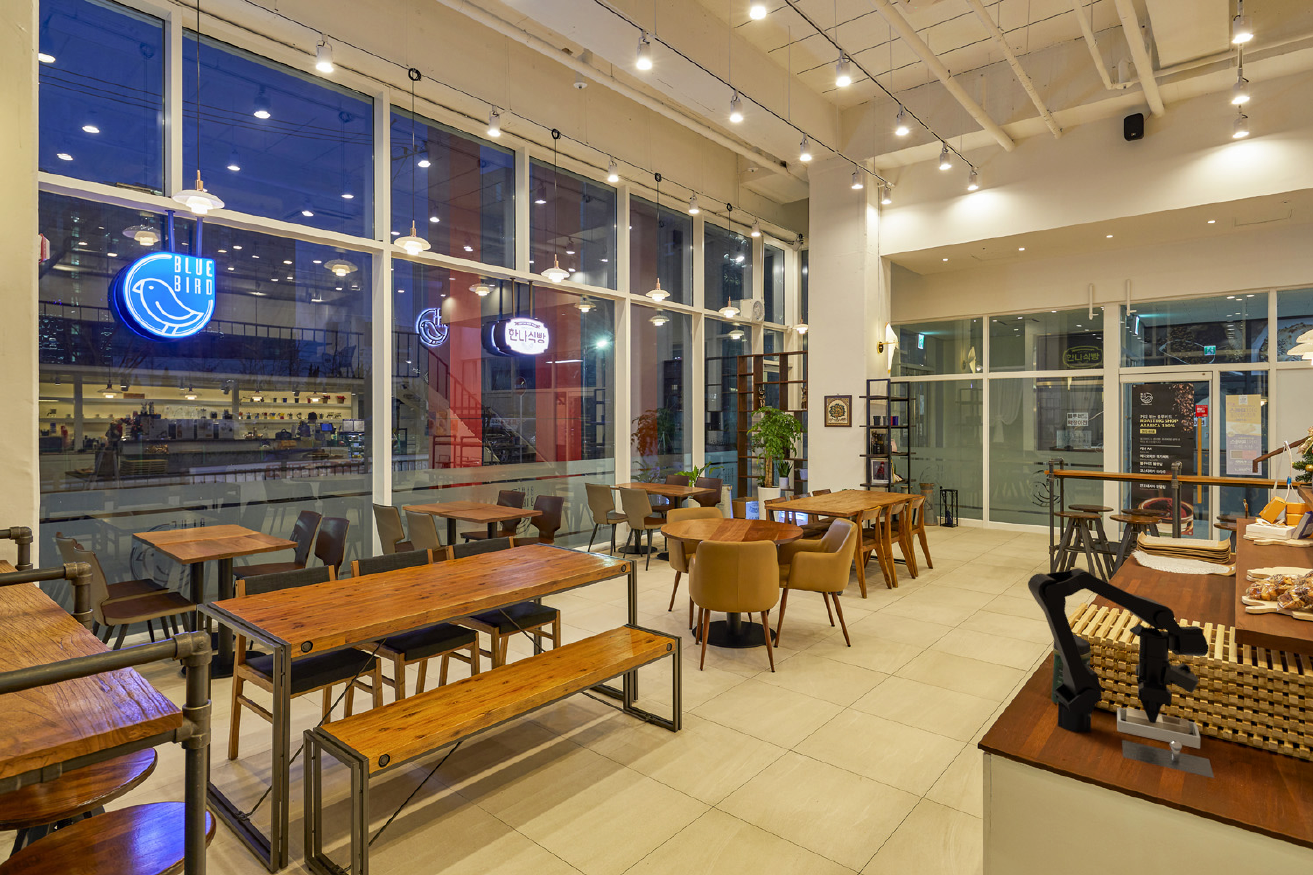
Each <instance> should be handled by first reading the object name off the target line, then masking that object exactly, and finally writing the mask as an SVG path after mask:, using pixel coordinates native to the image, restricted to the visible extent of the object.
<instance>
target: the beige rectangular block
mask: <svg viewBox="0 0 1313 875" xmlns="http://www.w3.org/2000/svg"><path fill="white" fill-rule="evenodd" d="M1126 709H1127V713H1126V720H1125V722H1130V723H1135V724H1140V725H1145V726H1149V727H1154V728H1159V729H1164V730H1169V731H1174V732H1178V733H1183V734H1188V735H1190V734H1191V733H1190V727H1189V723H1188V721H1189V720H1188V719H1187V718H1181V717H1175V716H1171V715H1167V714H1162V713H1159V714H1158V717H1157V720H1156V723H1150V722H1149V719H1148V717H1147V715H1146V712H1145V710H1143V709H1142V710H1140V709H1137V708H1136V709H1135V708H1131V707H1126Z"/></svg>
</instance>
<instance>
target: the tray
mask: <svg viewBox="0 0 1313 875" xmlns="http://www.w3.org/2000/svg"><path fill="white" fill-rule="evenodd" d="M1116 709H1117V711H1116V727H1117V730H1116V731H1117V732H1120V733H1123V734H1124V733H1125V734H1128V735H1133V736H1139V737H1143V738H1147V739H1153V740H1157V741H1163V742H1165V743H1170V742H1171V741H1173V740H1176V741H1178V742H1180V743H1181V745H1182V746H1186V747H1191V748H1196V749H1198V750H1200V749H1201V734H1200V733H1199V728H1198V724H1197V722H1193V721H1189V720H1188V723H1189V727H1190V733H1189V735H1188V734H1183V733H1178V732H1174V731H1169V730H1164V729H1159V728H1154V727H1149V726H1145V725H1140V724H1135V723H1130V722H1126V713H1127V708H1123V707H1118V706H1117V707H1116ZM1124 720H1125V721H1124Z"/></svg>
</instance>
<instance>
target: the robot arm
mask: <svg viewBox="0 0 1313 875" xmlns="http://www.w3.org/2000/svg"><path fill="white" fill-rule="evenodd" d="M1027 586H1028V590H1029V591H1030V593H1031V595H1032V596H1033V598H1034V600H1035V601H1036V603H1037V604H1038V605H1039V607H1040V608H1041V610H1042V611H1043V612H1044V615H1045V618H1046V621H1047V623H1048V627H1049V629H1050V631H1051V635H1052V637H1053V641H1054V640H1055V643H1056V646H1057V648H1058V651H1059V654H1060V657H1061V659H1062V662H1063V673H1062V675H1063V681H1064V682H1063V683H1062V684H1060V685H1059V686H1058V687H1057V688H1056V689H1054V694H1055V697H1056V698H1057V699H1058V700H1059V703H1057V727H1060V728H1061V729H1063V730H1067V731H1068V732H1072V733H1073V732H1074V733H1086V734H1087V733H1089V734H1090V733H1092V715H1093V714H1092V713H1094V709H1095V708H1096V705H1097V703H1098V702H1099V701H1100V700H1101V699H1102V695H1103V694H1102V691H1103V690H1104V687H1102V685H1101V683H1100V680H1099V679H1100V678H1099V675H1098V673H1097V672H1096V671H1094V670H1093V669H1092V668H1091V667H1090V668H1089V667H1088V666H1087V665H1086V664H1085V665H1084V663H1083V660H1082V658H1081V655H1080V652H1079V649H1078V647H1077V644H1076V641H1075V638H1074V636H1073V633H1074V632H1073V631H1072V628H1071V625H1070V621H1069V620H1068V617H1067V613H1066V604H1067V603H1066V597H1070V596H1073V595H1075V594H1076V593H1078V592H1079V591H1081V590H1085V589H1086V590H1088V591H1090V592H1091V593H1094V594H1097V595H1098V596H1101V597H1102V598H1104V599H1106V600H1108V601H1110V602H1112V603H1114V604H1116V605H1118V606H1121V607H1123V608H1124V609H1125V610H1127V611H1128V612H1130V614H1132V615H1133V616H1134V617H1136V618H1138V619H1139V620H1140V621H1143V622H1144V623H1146V624H1148V625H1149V627H1148V626H1147V627H1146V626H1144V625H1142V624H1140V623H1136V625H1134V626H1133V627H1132V628H1130V629H1129V632H1130V633H1132V634H1134V635H1135V636H1136V637H1139V648H1138V649H1139V650H1138V663H1139V665H1137V664H1135V676H1136V683H1137V697H1138V698H1139V701H1140V702H1141V705H1142V707H1143V709H1144V710H1143V711H1145V712H1146V715H1147V717H1148V719H1149V722H1150V723H1156V720H1157V717H1158V714H1160V712H1161V709H1162V706H1164V705H1172V703H1173V702H1172V700H1173V696H1172V691H1171V690H1170V688H1168V686H1171V684H1173V685H1175V686H1177V687H1179V688H1181V689H1183V690H1184V691H1186V692H1187V693H1190V694H1193V693H1194V691H1195V689H1196V687H1197V686H1198V684H1199V678H1198V676H1197V675H1196V674H1195V673H1192V671H1191V666H1190V665H1188V664H1186V663H1183V662H1182V663H1181V664H1178V665H1173V664H1171V663H1170V658H1169V651H1171V652H1172V653H1173V654H1174V655H1176V656H1188V657H1189V656H1191V657H1192V656H1193V657H1205V656H1206V655H1207V654H1208V652H1209V643H1208V642H1207V638H1206V636H1205V635H1204V630H1203V628H1201V627H1200V626H1197V625H1195V626H1194V625H1191V626H1181V625H1179V623H1178V622H1177V621H1176V619H1175V614H1174V610H1173V609H1172V608H1169V607H1168V606H1166V605H1164V604H1162V603H1160V602H1158V601H1156V600H1154V599H1151V598H1148V597H1145V596H1142V595H1138V594H1134V593H1130V592H1128V591H1125V590H1123V589H1121V588H1120V587H1117V586H1115V585H1113V584H1112V583H1109V582H1107V581H1105V580H1103V579H1100V578H1099V577H1097V576H1095V575H1093V574H1092V573H1090V572H1088V571H1087V570H1085V569H1083V568H1079V567H1076V568H1072V569H1069V570H1063V571H1062V570H1061V571H1055V572H1049V573H1036V574H1033V575H1032V576H1031V577H1030V579H1029V580H1028V582H1027ZM1150 626H1151V627H1150ZM1162 630H1164V631H1162Z"/></svg>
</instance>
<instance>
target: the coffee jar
mask: <svg viewBox="0 0 1313 875" xmlns="http://www.w3.org/2000/svg"><path fill="white" fill-rule="evenodd" d="M1073 636H1074V638H1075V641H1076V644H1077V647H1078V649H1079V652H1080V655H1081V658H1082V660H1083V663H1084V665H1085V664H1086V665H1087V666H1088V667H1089V668H1091V656H1092V655H1091V654H1092V648H1091V649H1090V643H1089V642H1087V641H1086V640H1084V639H1082V638H1081V637H1078V636H1077V635H1073ZM1052 646H1053V647H1052V648H1053V671H1052V672H1053V673H1052V686H1051V701H1052V702H1053V703H1054V704H1056V705H1058V703H1059V700H1058V699H1057V698H1056V697H1055V694H1054V689H1056V688H1057V687H1058V686H1059V685H1060V684H1062V683H1063V682H1064V681H1063V675H1062V673H1063V662H1062V659H1061V657H1060V654H1059V651H1058V648H1057V646H1056V643H1055V640H1054V639H1053V645H1052Z"/></svg>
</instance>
